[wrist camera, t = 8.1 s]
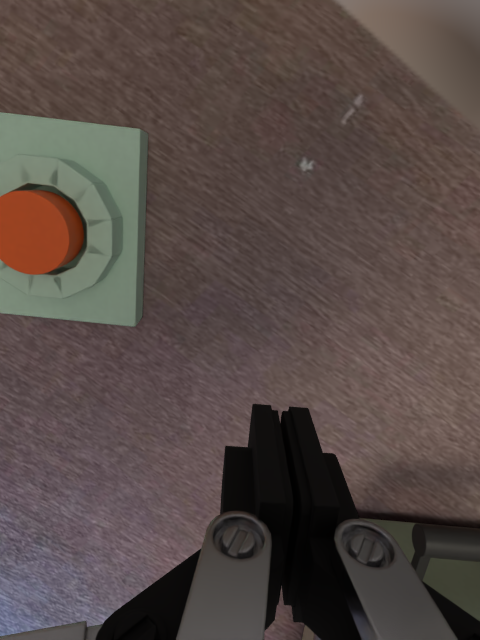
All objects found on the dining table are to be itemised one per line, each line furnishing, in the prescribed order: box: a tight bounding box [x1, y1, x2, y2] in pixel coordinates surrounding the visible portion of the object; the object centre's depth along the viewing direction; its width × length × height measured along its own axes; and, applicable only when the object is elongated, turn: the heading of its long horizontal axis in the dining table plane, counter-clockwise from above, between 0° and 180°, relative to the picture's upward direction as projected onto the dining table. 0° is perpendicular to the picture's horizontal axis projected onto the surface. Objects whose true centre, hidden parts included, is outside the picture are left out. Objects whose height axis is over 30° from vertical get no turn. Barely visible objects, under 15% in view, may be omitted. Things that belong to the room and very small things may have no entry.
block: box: [0, 112, 148, 327], centre depth 20 cm, size 10×8×4 cm
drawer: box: [359, 518, 480, 621], centre depth 25 cm, size 18×11×8 cm, turn 174°
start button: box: [0, 190, 84, 275], centre depth 18 cm, size 4×4×2 cm
